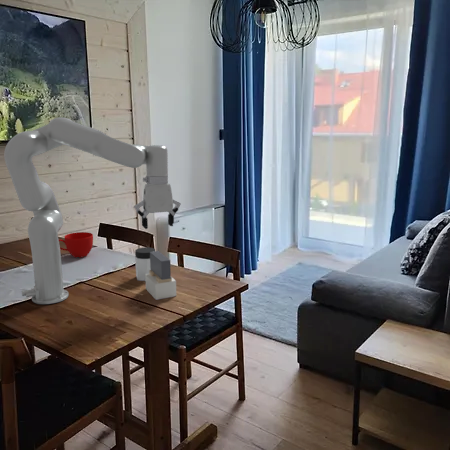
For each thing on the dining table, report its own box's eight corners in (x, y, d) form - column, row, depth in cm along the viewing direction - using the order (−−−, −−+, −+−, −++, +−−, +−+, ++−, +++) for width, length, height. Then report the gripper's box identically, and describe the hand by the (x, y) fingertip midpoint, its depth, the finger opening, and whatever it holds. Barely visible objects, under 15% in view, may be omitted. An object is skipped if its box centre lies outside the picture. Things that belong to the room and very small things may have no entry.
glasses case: (161, 279, 162) (161, 261, 160) (150, 269, 173) (149, 252, 171) (170, 278, 163) (170, 260, 162) (158, 268, 174) (158, 250, 173)
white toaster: (155, 299, 163) (155, 280, 161) (145, 288, 173) (145, 270, 171) (176, 296, 166) (175, 276, 165) (165, 285, 177) (164, 267, 175)
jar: (135, 275, 188) (133, 247, 186) (154, 273, 191) (153, 246, 188) (137, 282, 180) (136, 253, 177) (157, 280, 182) (156, 252, 180)
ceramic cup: (56, 254, 216) (54, 234, 214) (91, 250, 223) (90, 231, 221) (58, 262, 205) (56, 241, 202) (96, 257, 212) (94, 237, 209)
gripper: (136, 182, 153) (138, 231, 157) (183, 180, 160) (183, 226, 164) (130, 180, 159) (132, 226, 163) (176, 178, 167) (176, 222, 171)
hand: (158, 226), depth 164 cm, fingers open, 9 cm apart
